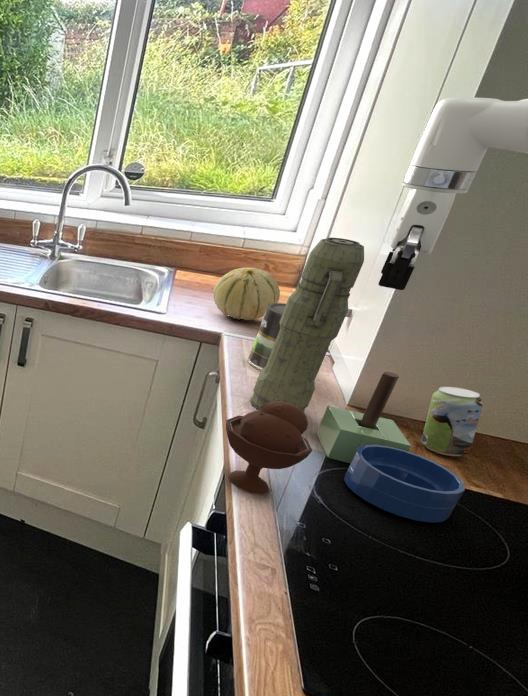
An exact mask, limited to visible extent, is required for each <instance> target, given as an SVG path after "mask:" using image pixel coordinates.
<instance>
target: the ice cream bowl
mask: <svg viewBox="0 0 528 696" xmlns="http://www.w3.org/2000/svg"><path fill="white" fill-rule="evenodd" d="M225 421H226V422H225V432H226V436H227V437H226V438H227V441H228V443H229V446H230V448H231V449H232V450H233V452H234V453H235V454H236V455H238V456H239V457H240V458H241V459H243V460H244V461H245V462H247V463H248V464H247V467H246V469H245V470H233V471H232V472H230V473H229V474H227V476H228V480H229V482H230V483H231V484H233V485H234V486H235V487H237V488H238V489H240V490H243V491H245V492H248V493H249V494H257V495H261V496H262V495H265V494H267V493H269V492H270V488H269V485H268V482H267V481H265V480H264V479H263V478H261V477H260V473H261V470H262V469H269V470H283V469H288V468H292V467H293V466H295V465H298V464H300V463H301V462H302V461H304V460H305V459H307V458H308V457H309V455H311V453H312V452H313V449H312V446H311V443H310V442H309V441H308V439H307V438H306V437H304V436H303V434H304V433H305V432H306V430H308V426H309V421H308V418H307V415H306V414H305V413H303V411H302V410H300V409H299V408H298V407H296V406H294V405H292V404H290V403H287V402H282V401H273V402H268V403H266V404H264V405H262V406H260V408H259V410H258V409H257V410H254V411H250V412H248V413H246V414H245V415H236V416H233V417H231V418H228V419H226V420H225Z"/></svg>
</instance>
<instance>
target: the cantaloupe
mask: <svg viewBox="0 0 528 696" xmlns="http://www.w3.org/2000/svg"><path fill="white" fill-rule="evenodd" d="M212 293H213V301H214V304H215V305H216V307H217V310H219V311H220V312H221V313H222V314H223V315H225V314H226V315H225V316H227V315H229V316H231V317H234V318H233V319H235V318H239V319H238V320H240V319H244V320H243V321H253V320H258V319H260V318H264V315H265V312H266V307H267V305H268V304H272V303H279V300H280V296H281V291H280V287H279V284H278V282H277V280H276V279H275V277H274V276H273V275H272V274H270V273H269V272H268V271H265V270H263V269H259V268H256V267H240V268H235V269H233V270H230V271H228V272H227V273H226V274H224V275H222V276H221V277H220V278H219V279H218V280H217V282H216V283H215V285H214V288H213V291H212ZM229 316H228V317H229ZM231 317H230V318H231ZM252 319H253V320H252Z"/></svg>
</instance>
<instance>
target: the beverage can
mask: <svg viewBox="0 0 528 696" xmlns="http://www.w3.org/2000/svg"><path fill="white" fill-rule="evenodd" d="M483 406H484V402H483V400H482V399H481V395H480V393H479V392H477V391H474V390H471V389H467V388H463V387H456V386H440V387H439V388H438V390H436V391H435V392H433V394H432V396H431V399H430V404H429V407H428V412H427V416H426V420H425V423H424V427H423V432H422V436H421V439H420V443H421V444H422V445H423V446H425V447H426V448H427V450H429V451H431V452H434V453H436V454H440V455H443V456H448V457H449V456H450V457H462V456H466V455H468V454H470V453H471V451H472V446H473V442H474V439H475V436H476V431H477V428H478V424H479V421H480V417H481V412H482V411H483V410H482V409H483Z"/></svg>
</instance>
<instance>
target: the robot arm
mask: <svg viewBox="0 0 528 696" xmlns="http://www.w3.org/2000/svg"><path fill="white" fill-rule="evenodd" d="M489 148H490V149H491V148H492V149H493V148H494V149H499V150H506V151H511V152H516V153H521V154H528V98H523V99H520V100H502V99H500V98H493V97H491V98H490V97H470V96H468V97H467V96H455V97H454V96H451V97H447V98H443V99H441V100H440V101H438V102H437V103H436V105H435V106H434V108H433V110H432V112H431V115H430V117H429V119H428V122H427V124H426V127H425V129H424V131H423V133H422V136H421V138H420V141H419V143H418V146H417V148H416V150H415V152H414V155H413V156H412V159H411V162H410V164H409V167H408V169H407V171H406V174H405V176H404V178H403V181H402V183H401V185H400V186H401V187H404V188H407V189H409V191H408V193H407V196H406V198H405V200H404V203H403V205H402V208H401V210H400V213H399V215H398V218H397V220H396V223H395V227H394V229H393V232H392V237H391V241H390V248H391V249H392V250H391V251H389V253H388V255H387V257H386V260H385V261H384V264H383V266H382V269H381V270H380V273H381V277H380V278H379V281H378V286H379V287H384V288H387V289H393V290H398V291H404V290H405V289H406V287H407V286H408V283H409V281H410V278H411V276H412V274H413V272H414V270H415V263H416V261H417V258H418V256H419V253H420V251H421V252H423V253H424V256H425V255H427V256H428V255H431V254H432V253H433V250H434V248H435V245H436V243H437V241H438V238H439V236H440V234H441V232H442V230H443V228H444V225H445V223H446V221H447V219H448V216H449V214H450V212H451V210H452V207H453V204H454V202H455V198H456V196H457V194H467V193H468V191H469V189H470V187H471V185H472V183H473V180H474V178H475V176H476V174H477V172H478V171H479V168H480V167H481V164H482V161H483V159H484V157H485V155H486V153H487V151H488V149H489Z"/></svg>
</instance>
